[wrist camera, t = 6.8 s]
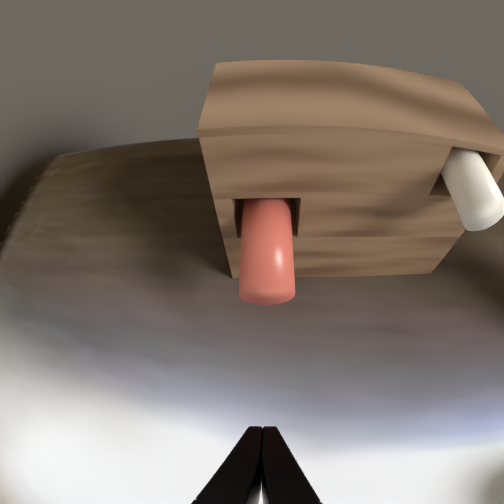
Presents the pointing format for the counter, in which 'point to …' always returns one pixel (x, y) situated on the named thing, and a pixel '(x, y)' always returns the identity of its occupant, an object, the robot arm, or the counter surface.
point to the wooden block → (342, 160)
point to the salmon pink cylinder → (266, 252)
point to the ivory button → (472, 189)
